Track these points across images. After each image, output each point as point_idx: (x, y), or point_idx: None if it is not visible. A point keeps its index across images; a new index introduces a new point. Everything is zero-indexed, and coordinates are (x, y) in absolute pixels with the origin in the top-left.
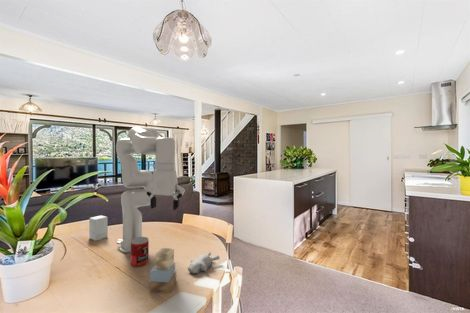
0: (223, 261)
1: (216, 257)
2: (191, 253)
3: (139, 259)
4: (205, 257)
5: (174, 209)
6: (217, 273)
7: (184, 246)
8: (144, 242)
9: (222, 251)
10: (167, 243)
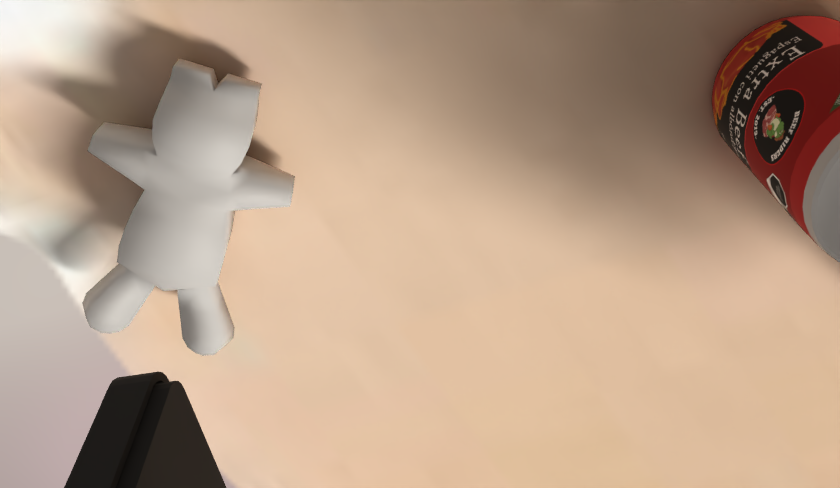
0: None
1: (96, 298)
2: (420, 351)
3: (782, 48)
4: (146, 239)
5: (121, 378)
6: (18, 146)
7: (539, 424)
8: (824, 158)
9: None
10: (705, 425)
